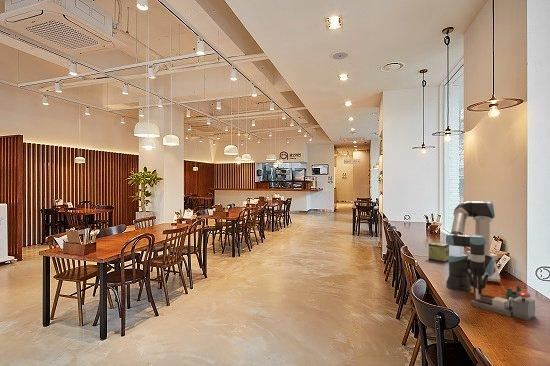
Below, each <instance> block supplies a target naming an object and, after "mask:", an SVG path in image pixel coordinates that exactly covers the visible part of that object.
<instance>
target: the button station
mask: <svg viewBox="0 0 550 366" xmlns="http://www.w3.org/2000/svg"><path fill="white" fill-rule="evenodd" d="M516 292H517V291H516ZM517 295H518V296H519V297H517V298H515V299H514V298H512V297H509V298H508V301H507V310H509V311H511V313H512V317H515V318H517V319H520V320H521V319H522V320H525V321H528V322H529V321H530V320H532V319H533V318H535V317H536V300H535V299H533V298H531V296H532V295H531V294H530V293H528V292H524V291H521V292H517Z"/></svg>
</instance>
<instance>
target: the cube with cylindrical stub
mask: <svg viewBox="0 0 550 366" xmlns="http://www.w3.org/2000/svg"><path fill="white" fill-rule="evenodd" d="M491 299H492V304H491V306H495V307H498V308H502V309H505V310H507V301H508V300H507V299H506V298H503V297H499V296H495V297H494V298H491Z"/></svg>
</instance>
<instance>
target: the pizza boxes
mask: <svg viewBox="0 0 550 366" xmlns="http://www.w3.org/2000/svg"><path fill="white" fill-rule="evenodd" d="M466 255H468V257H470V250H466ZM489 255H490V256H491V257H492V260H494V261H495V264H494V271H493V275H492V276H491V277H488V280H487V282H498V283H499V282H501V276H500V272H499V269H498V265H497V262H496V260H499V255H498V254H496V253H492V252H489ZM472 278H473V275H472ZM483 280H484V277H483V276H482V281H483ZM477 281H478V276H477Z"/></svg>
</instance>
